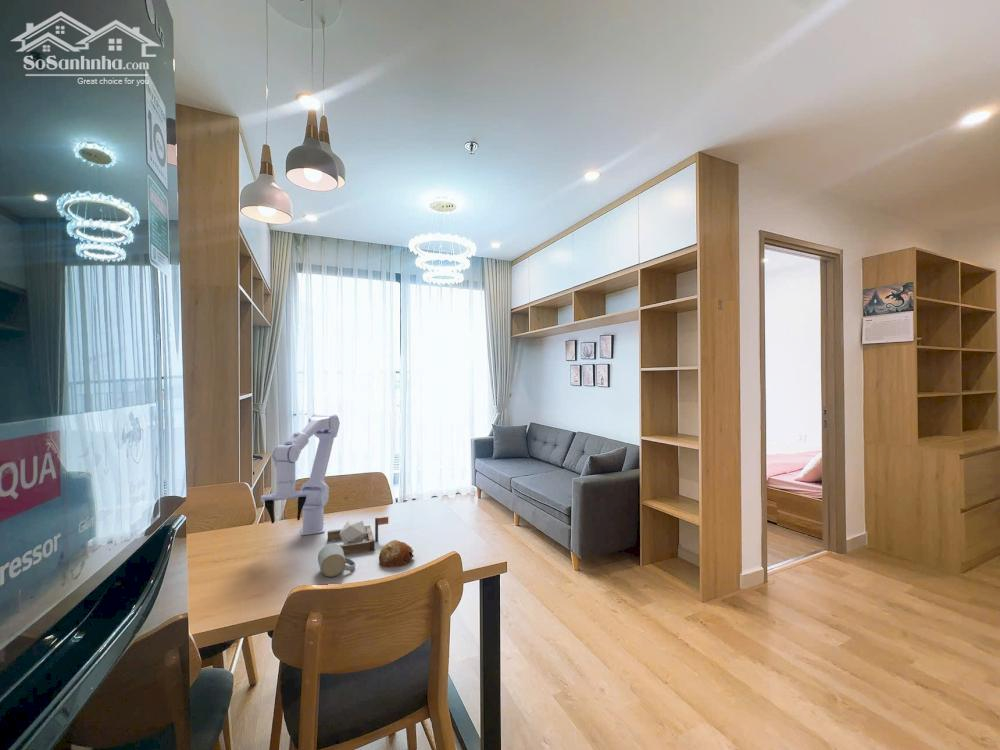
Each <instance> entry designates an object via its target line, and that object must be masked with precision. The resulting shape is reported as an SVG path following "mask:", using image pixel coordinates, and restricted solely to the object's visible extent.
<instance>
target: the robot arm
mask: <svg viewBox="0 0 1000 750" xmlns="http://www.w3.org/2000/svg"><path fill="white" fill-rule="evenodd" d="M339 429H340V419H339V416H338V415H337V414H316V413H313V414H312V415H311V416H310V417H309V418H308V424H307V423H306V425H305V427H304V428H303V429H302V430H301V431H297V432H296V431H295V432H294V433H293V434H292V435H291V436H290V437H289V438H288V439H287V440H286V441H285V442H284V443H283V444H279V445H277V446H276V447H275V448H274V449H273V452H272V455H271V456H272V457H271V458H272V459H271V460H272V461H273V464H274V468H275V473H276V476H275V477H276V478H275V479H276V486H275V487H276V490H275V491H276V493H269V494H263V495H262V494H261V496H260V503H261V504H262V503H264V507H265V509H266V510H267V513H268V515H269V518H270V520H271V524H275V520H276V519H275V518H276V517H275V502H276V501H283V500H286V501H287V500H292V499H294V500H295V499H296V503H297V515H296V518H297V520H296V521H300V519H301V514H302V526H301V529H300V530H301V531H300V536H307V535H315V534H322V533H326V532H325V531H326V529H325V528H326V525H325V522H324V509H325V508H324V507H325V506H326V505H327V504H328V501H329V497H330V495H329V494H330V493H329V492H330V487H329V485H328V484H327V483H326V481H325V477H326V474H327V470H328V465H329V461H330V457H331V453H332V450H333V444H334V441H335V438H337V437H338V433H339ZM313 436H315V437H316V438H318V445H317V448H316V453H315V457H314V459H313V465H312V468H311V471H310V472H311V473H310V476H309V479H308V480H307V481H306V482H304V483H303V484H302V485H301V486H300V490H296V462H297V461H298V459H299V457H300V454H301V452H302V451H303V449H304V448H306V446H307V445H308V444H309V441H310V440H309V439H310V438H312V437H313Z"/></svg>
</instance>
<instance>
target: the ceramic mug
mask: <svg viewBox="0 0 1000 750" xmlns="http://www.w3.org/2000/svg"><path fill="white" fill-rule="evenodd" d="M339 545H340V544H337V543H328V544H326V545H325V546H323V547H321V549H320V550H319V552H318V555H317V561H318V566H319V569H320V571H321V573H322V574H323V575H324V576H326V577H328V578H334V577H337V576H339V575H340V574H341V573H342V572H343V571H347V572H351V571H353V570H354V569H355V567H356V562H355V561H354V560H353V559H351V558H348V557H346V555H344V551H343V549H342V547H341V546H339Z"/></svg>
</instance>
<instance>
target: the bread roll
mask: <svg viewBox="0 0 1000 750" xmlns="http://www.w3.org/2000/svg"><path fill="white" fill-rule="evenodd" d="M412 548H413V547H411V546H409V544H407V543H406V542H403V541H400V540H397V539H393V540H390V541H389V542H387V543H386V544H385V545H383V547H382V548H381V550H380V552H379V554H378V562H379V565H380V566H382V567H384V568H388V569H389V568H399V567H403V566H407V565H409V564H410V563H411V560H412V559H413V558H414V557H415V555H414V554H413V553H414V549H412Z"/></svg>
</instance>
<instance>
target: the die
mask: <svg viewBox="0 0 1000 750" xmlns="http://www.w3.org/2000/svg"><path fill="white" fill-rule="evenodd" d="M365 526H366V525H365V524H364V521H363V520H347V521H346V523H345V525H344V526H343V527H342V528H341V529H342V530H341V531H340V533H339V534H340V536H341V539H340V540H341V541H342V542H343V543H342V544H350V543H356V542H363V541H364V540H365V538H367V537H366V535H367V531H366V528H365Z"/></svg>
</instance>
